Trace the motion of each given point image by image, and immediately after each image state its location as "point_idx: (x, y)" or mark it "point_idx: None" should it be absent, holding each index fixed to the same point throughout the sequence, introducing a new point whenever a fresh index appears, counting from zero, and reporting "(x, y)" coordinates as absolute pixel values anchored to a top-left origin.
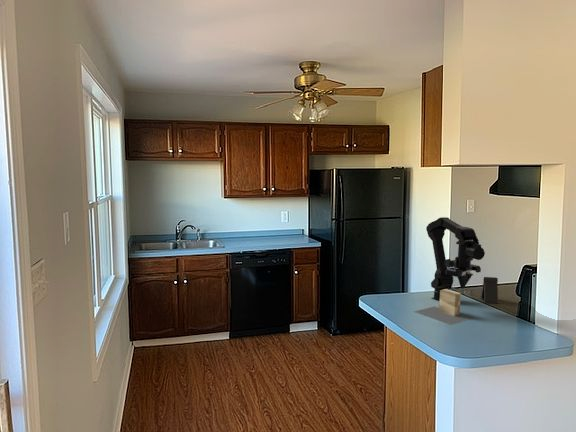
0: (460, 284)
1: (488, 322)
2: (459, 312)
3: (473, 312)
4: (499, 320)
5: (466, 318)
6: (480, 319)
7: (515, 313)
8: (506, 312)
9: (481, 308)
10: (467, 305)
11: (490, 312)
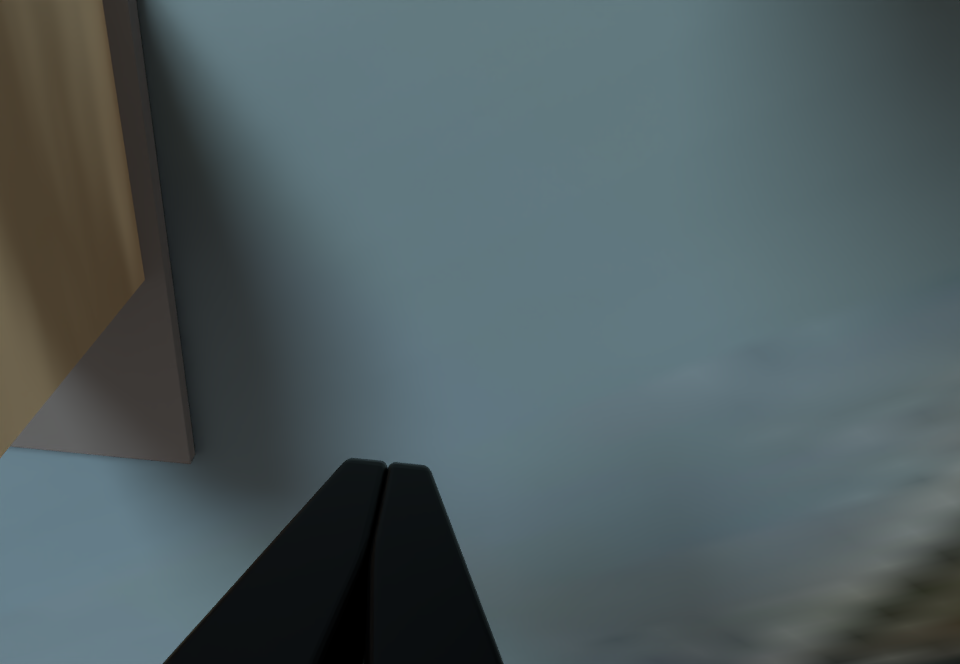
0: (247, 604)
1: None
2: (122, 302)
3: (534, 335)
4: None
5: (103, 423)
6: None
7: (932, 652)
8: (906, 590)
9: (886, 322)
10: (933, 51)
11: (746, 480)
